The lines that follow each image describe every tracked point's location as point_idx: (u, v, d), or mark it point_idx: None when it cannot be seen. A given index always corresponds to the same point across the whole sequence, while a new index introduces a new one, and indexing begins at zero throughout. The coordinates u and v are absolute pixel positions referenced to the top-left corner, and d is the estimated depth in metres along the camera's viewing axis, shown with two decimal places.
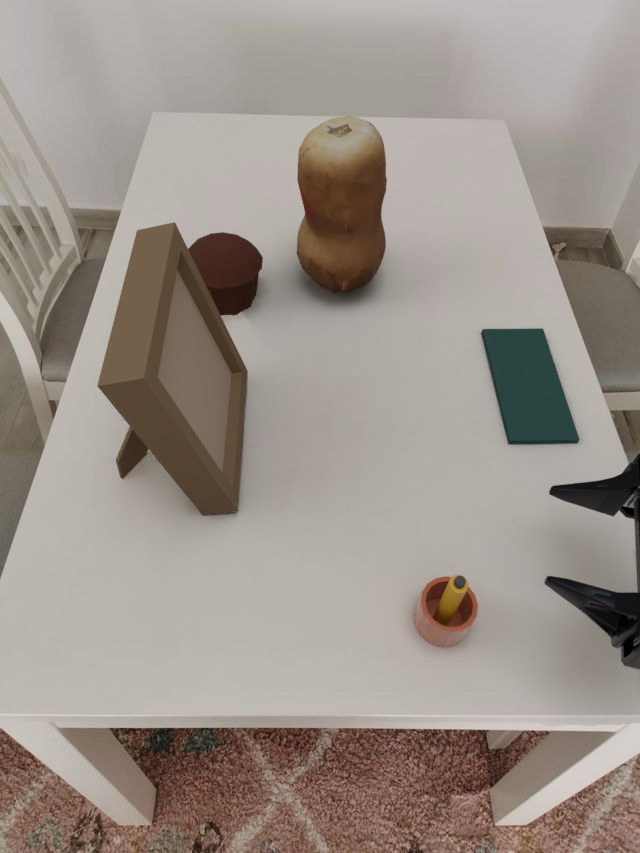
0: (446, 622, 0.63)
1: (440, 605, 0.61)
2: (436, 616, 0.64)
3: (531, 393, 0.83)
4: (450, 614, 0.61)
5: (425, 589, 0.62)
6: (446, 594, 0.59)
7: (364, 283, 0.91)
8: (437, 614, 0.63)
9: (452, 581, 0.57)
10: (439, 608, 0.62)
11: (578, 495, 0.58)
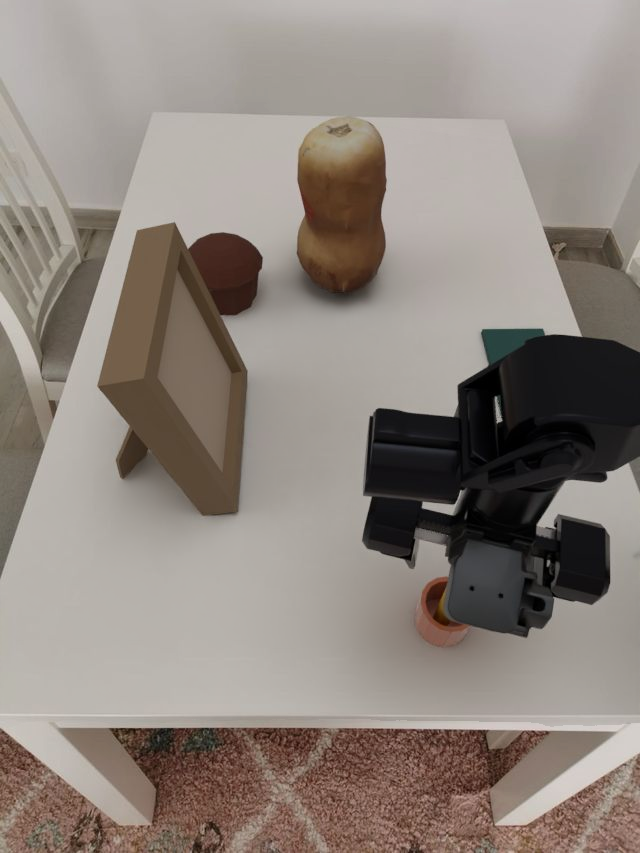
0: (446, 622, 0.63)
1: (440, 605, 0.61)
2: (436, 616, 0.64)
3: None
4: None
5: (425, 589, 0.62)
6: None
7: (364, 283, 0.91)
8: (437, 614, 0.63)
9: None
10: (439, 608, 0.62)
11: (416, 554, 0.54)
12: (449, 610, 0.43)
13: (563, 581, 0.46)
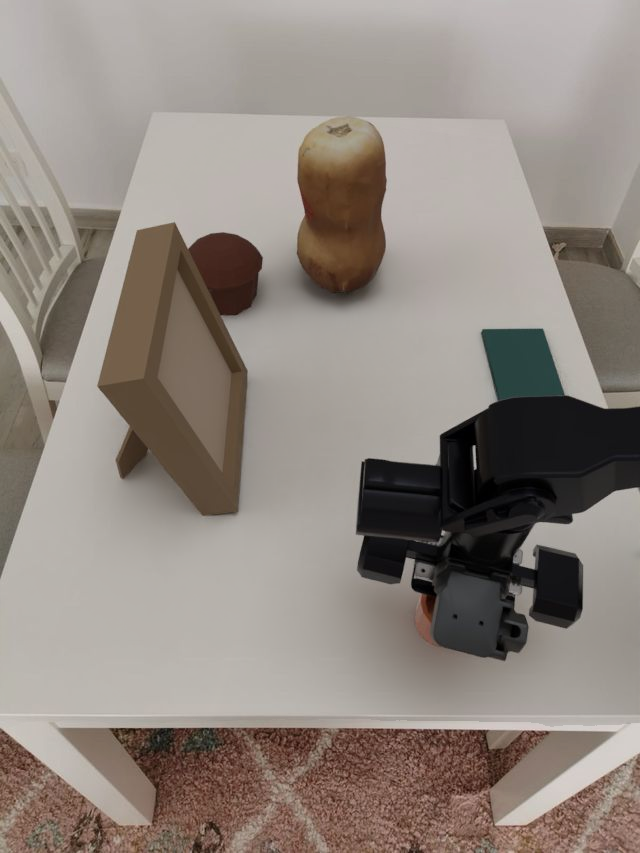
0: None
1: None
2: None
3: (531, 393, 0.83)
4: None
5: None
6: None
7: (364, 283, 0.91)
8: None
9: None
10: None
11: None
12: (435, 636, 0.47)
13: (539, 607, 0.50)
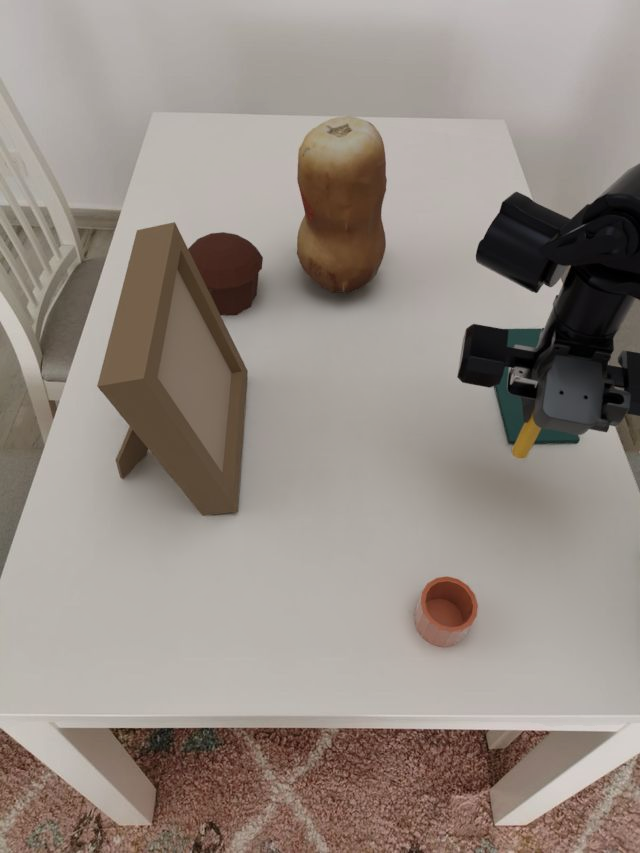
0: (527, 449, 0.68)
1: (524, 429, 0.66)
2: (517, 444, 0.68)
3: None
4: (533, 437, 0.66)
5: (425, 589, 0.62)
6: (533, 411, 0.63)
7: (364, 283, 0.91)
8: (519, 441, 0.68)
9: None
10: (522, 433, 0.67)
11: None
12: (544, 409, 0.52)
13: (632, 395, 0.55)
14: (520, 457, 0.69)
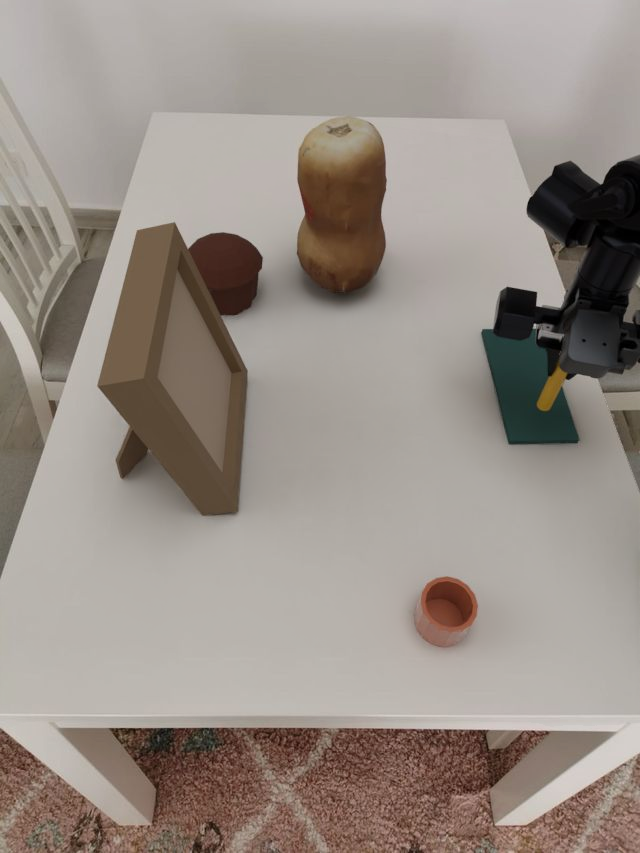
0: (550, 402, 0.77)
1: (548, 382, 0.75)
2: (542, 397, 0.78)
3: (531, 393, 0.83)
4: (556, 390, 0.75)
5: (425, 589, 0.62)
6: (557, 365, 0.73)
7: (364, 283, 0.91)
8: (543, 394, 0.77)
9: None
10: (546, 386, 0.76)
11: None
12: (569, 354, 0.61)
13: None
14: (544, 409, 0.79)
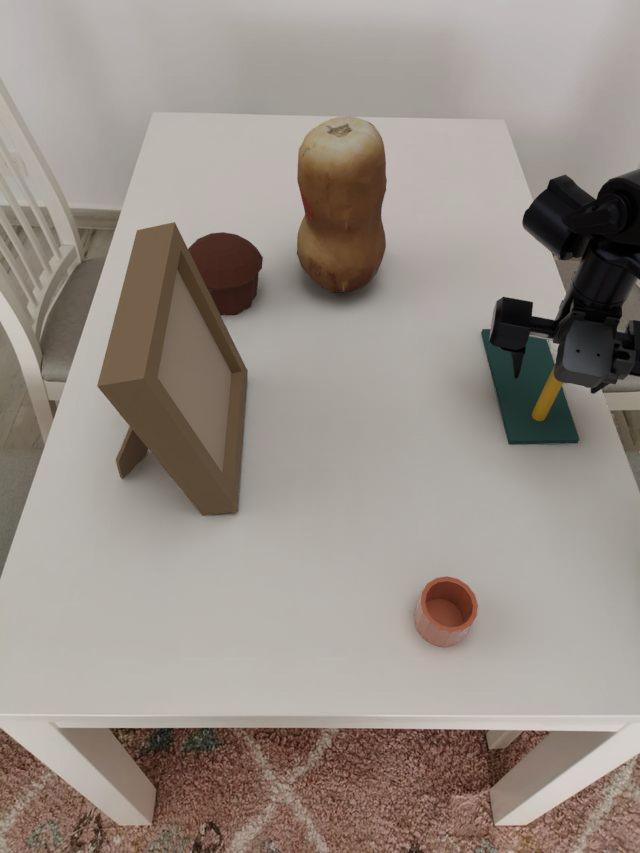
0: (545, 412, 0.79)
1: (543, 393, 0.77)
2: (537, 408, 0.79)
3: (531, 393, 0.83)
4: (550, 401, 0.77)
5: (425, 589, 0.62)
6: (551, 377, 0.75)
7: (364, 283, 0.91)
8: (538, 405, 0.79)
9: None
10: (541, 397, 0.78)
11: None
12: (563, 364, 0.62)
13: (637, 356, 0.66)
14: (539, 419, 0.80)
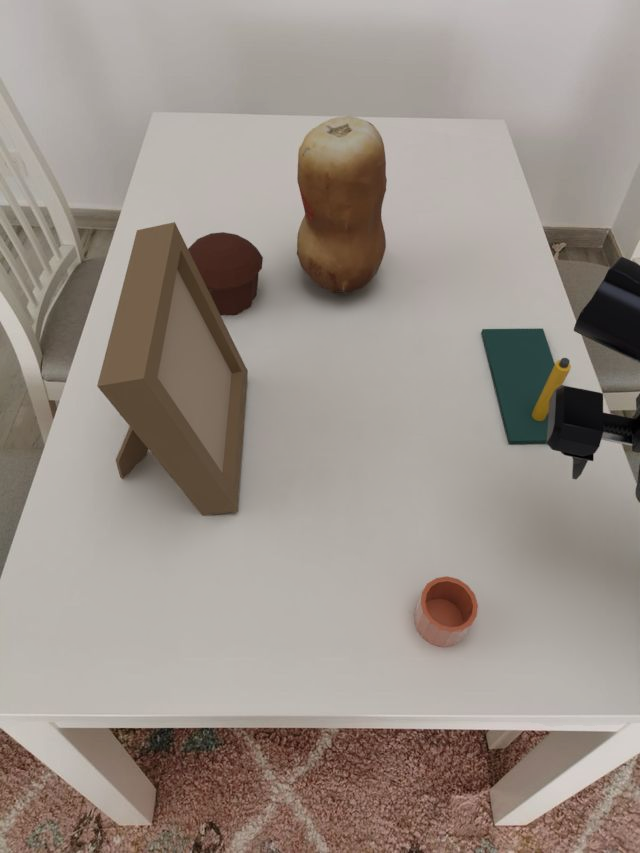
0: (545, 412, 0.79)
1: (543, 393, 0.77)
2: (537, 408, 0.79)
3: (531, 393, 0.83)
4: None
5: (425, 589, 0.62)
6: (551, 377, 0.75)
7: (364, 283, 0.91)
8: (538, 405, 0.79)
9: (558, 363, 0.73)
10: (541, 397, 0.78)
11: None
12: None
13: None
14: (539, 419, 0.80)
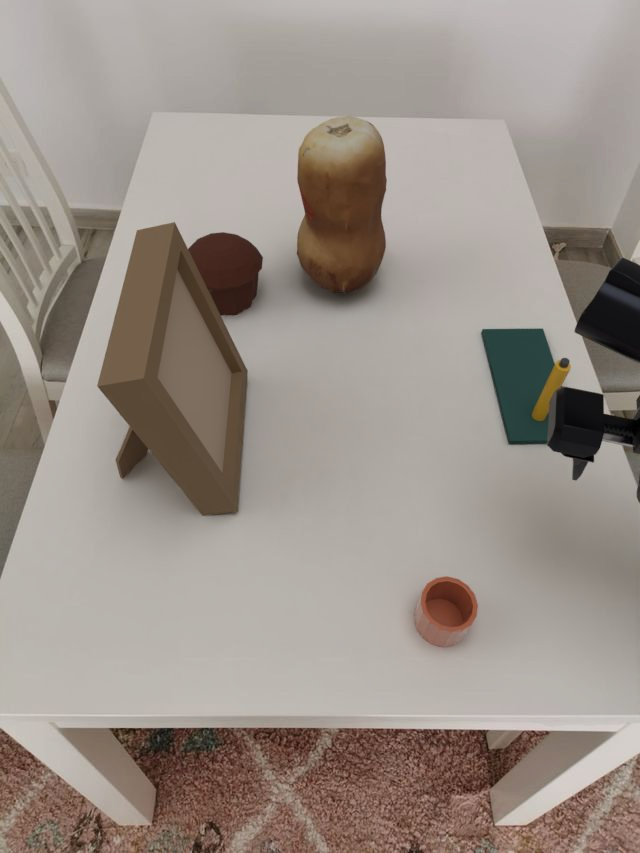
0: (545, 412, 0.79)
1: (543, 393, 0.77)
2: (537, 408, 0.79)
3: (531, 393, 0.83)
4: None
5: (425, 589, 0.62)
6: (551, 377, 0.75)
7: (364, 283, 0.91)
8: (538, 405, 0.79)
9: (558, 363, 0.73)
10: (541, 397, 0.78)
11: None
12: None
13: None
14: (539, 419, 0.80)
